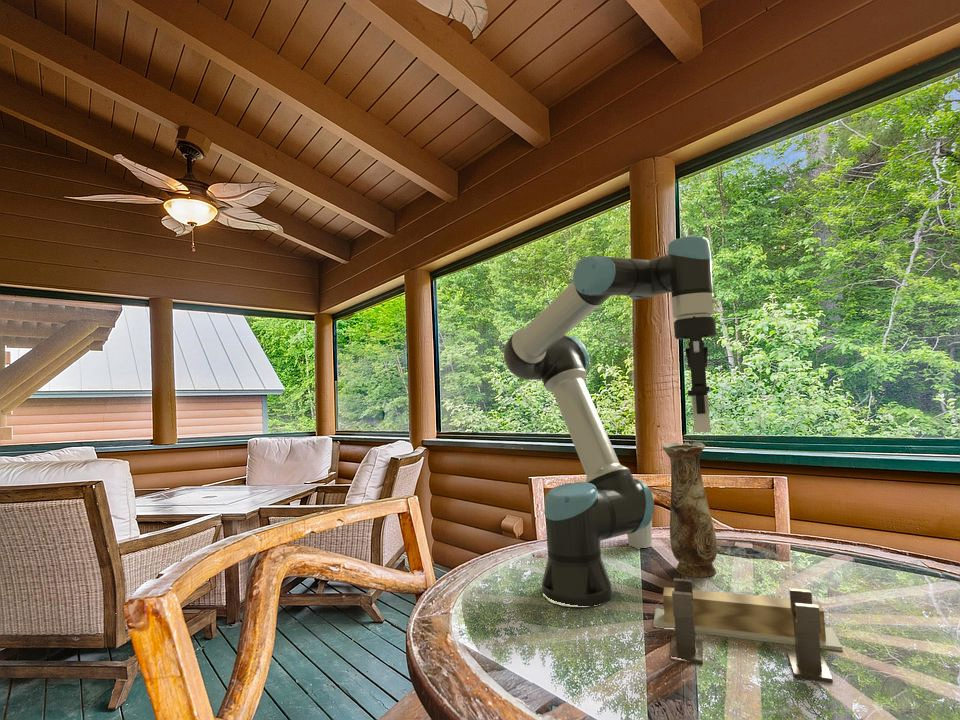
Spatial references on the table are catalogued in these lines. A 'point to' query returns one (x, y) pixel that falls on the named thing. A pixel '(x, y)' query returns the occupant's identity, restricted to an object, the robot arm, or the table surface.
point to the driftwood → (747, 552)
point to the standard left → (685, 624)
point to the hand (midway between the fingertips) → (702, 427)
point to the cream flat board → (751, 633)
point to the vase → (690, 512)
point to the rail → (741, 612)
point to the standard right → (806, 638)
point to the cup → (641, 537)
